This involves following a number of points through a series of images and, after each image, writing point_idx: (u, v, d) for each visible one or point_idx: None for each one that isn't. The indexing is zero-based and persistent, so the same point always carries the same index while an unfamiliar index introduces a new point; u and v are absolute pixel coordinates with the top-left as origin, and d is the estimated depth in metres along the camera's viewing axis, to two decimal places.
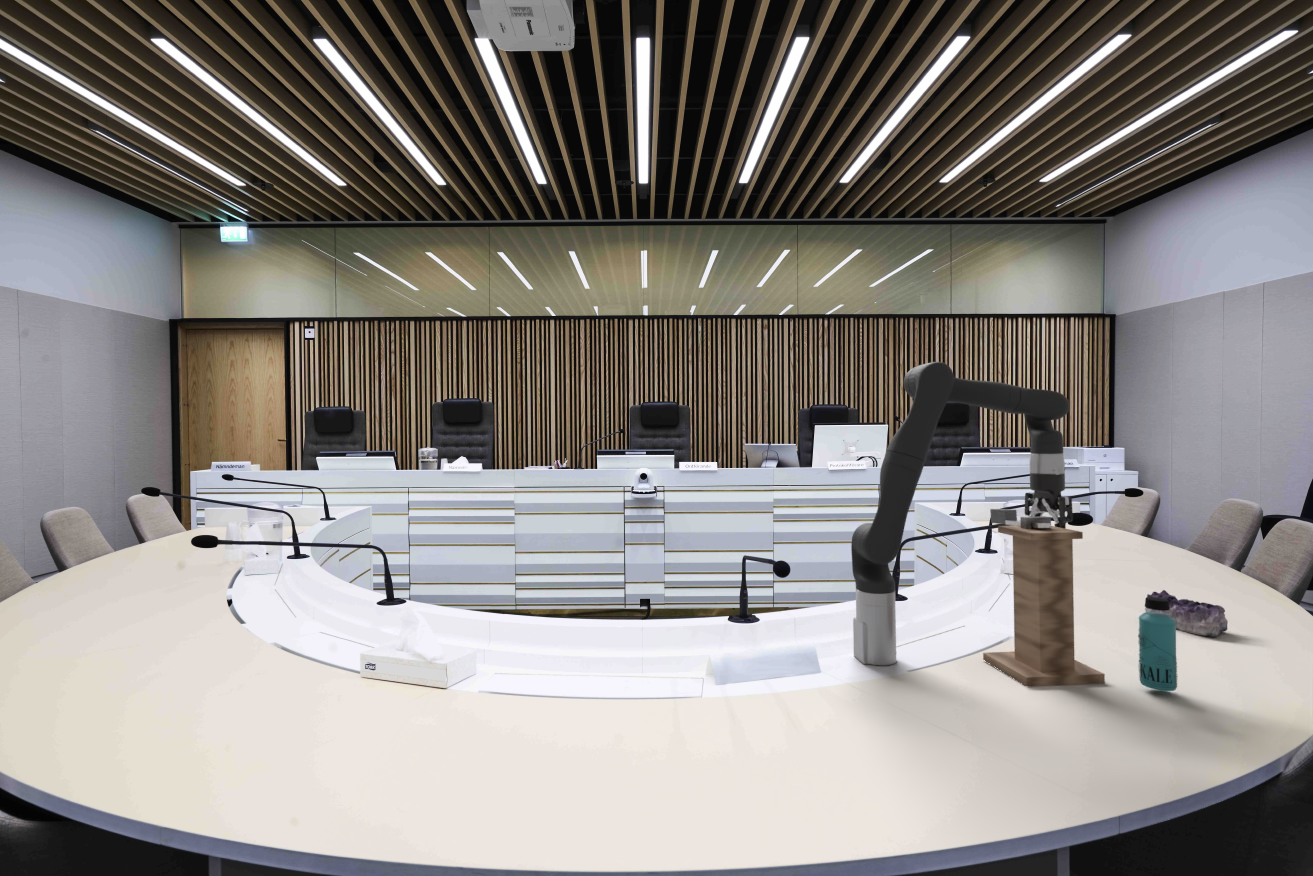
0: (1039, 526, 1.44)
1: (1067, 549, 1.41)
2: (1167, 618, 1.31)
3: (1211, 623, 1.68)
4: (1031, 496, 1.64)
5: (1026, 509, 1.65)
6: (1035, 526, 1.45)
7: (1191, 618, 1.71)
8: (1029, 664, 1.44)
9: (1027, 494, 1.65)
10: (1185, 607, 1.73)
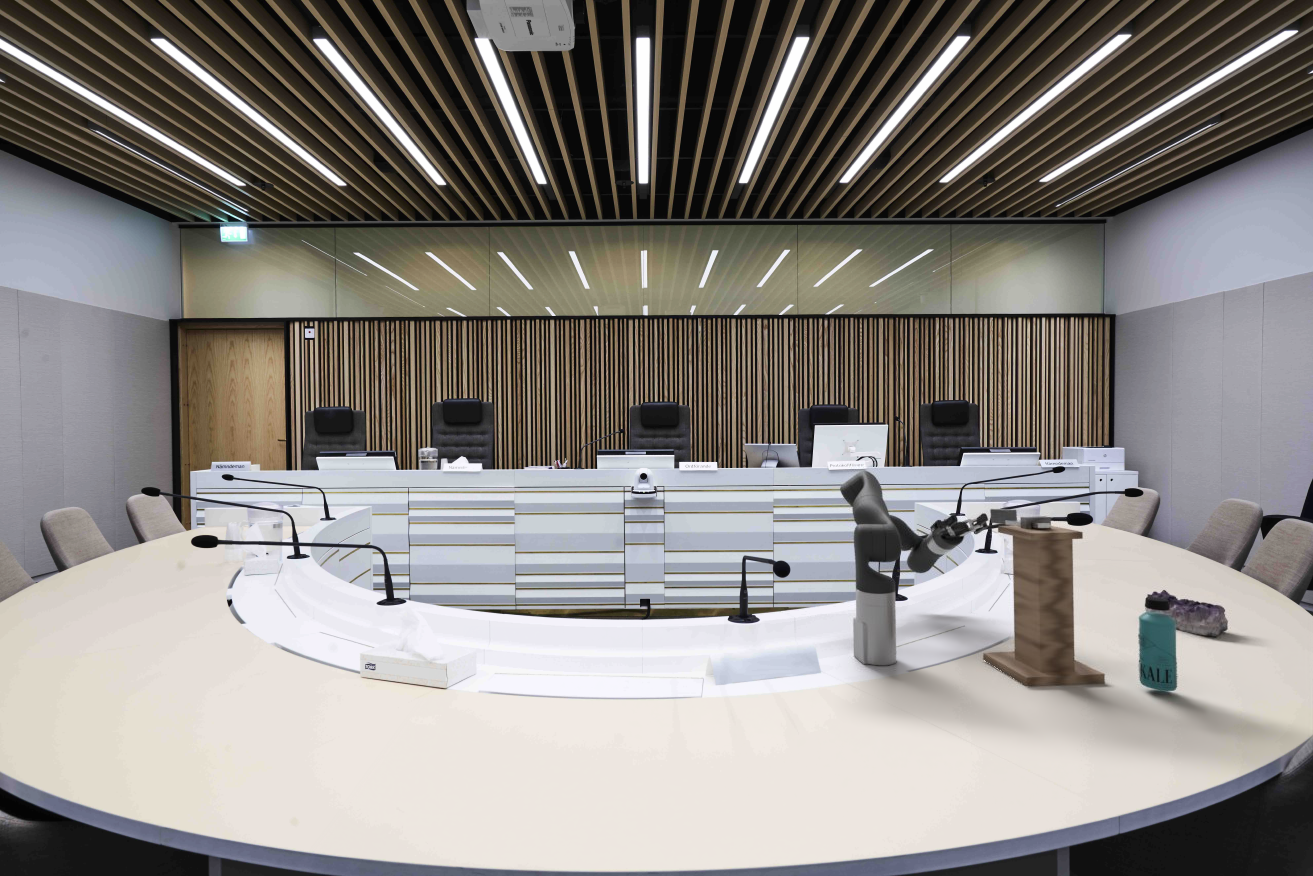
0: (1039, 526, 1.44)
1: (1067, 549, 1.41)
2: (1167, 618, 1.31)
3: (1211, 623, 1.68)
4: None
5: None
6: (1035, 526, 1.45)
7: (1191, 618, 1.71)
8: (1029, 664, 1.44)
9: None
10: (1185, 607, 1.73)
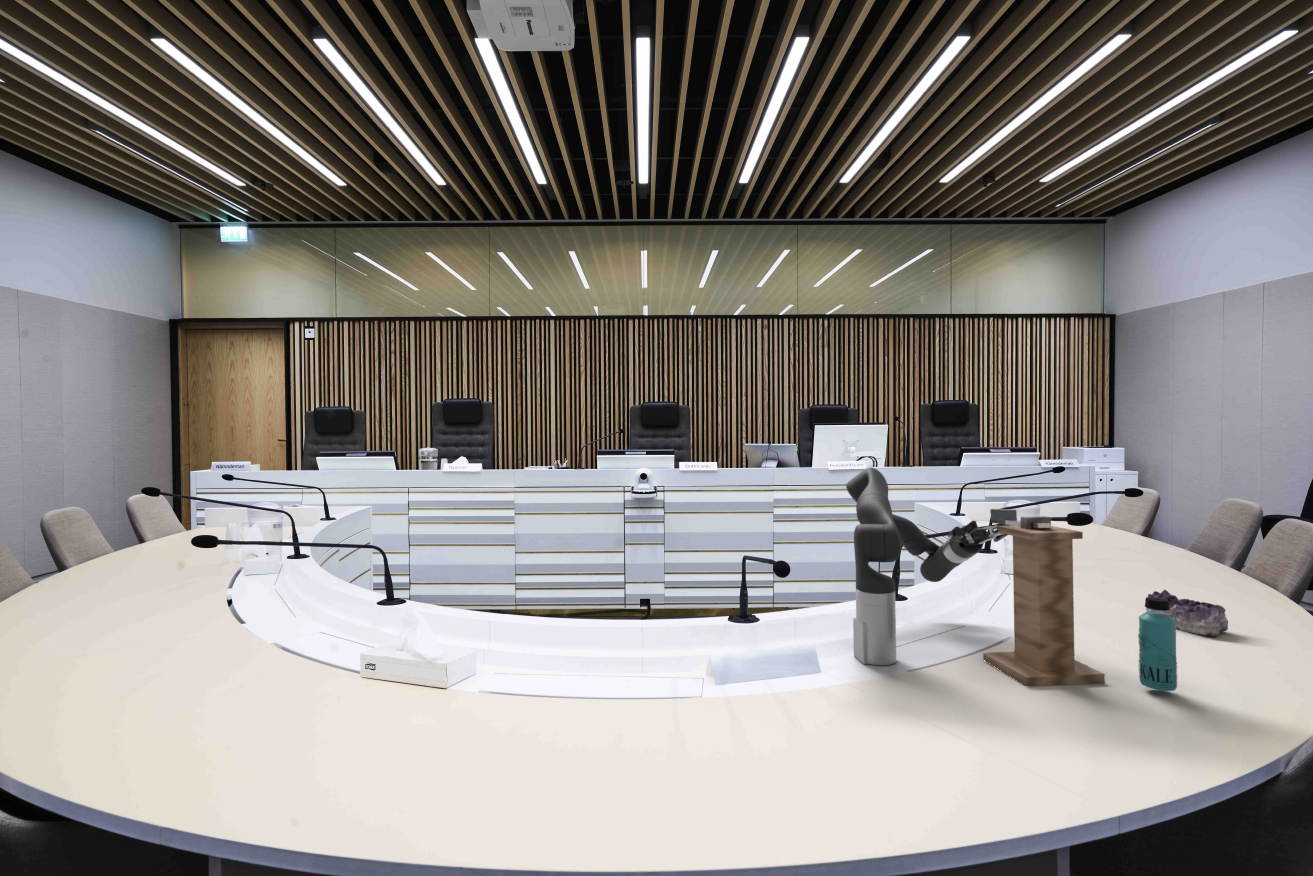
0: (1039, 526, 1.44)
1: (1067, 549, 1.41)
2: (1167, 618, 1.31)
3: (1211, 623, 1.68)
4: None
5: None
6: (1035, 526, 1.45)
7: (1190, 618, 1.71)
8: (1029, 664, 1.44)
9: None
10: (1185, 607, 1.74)
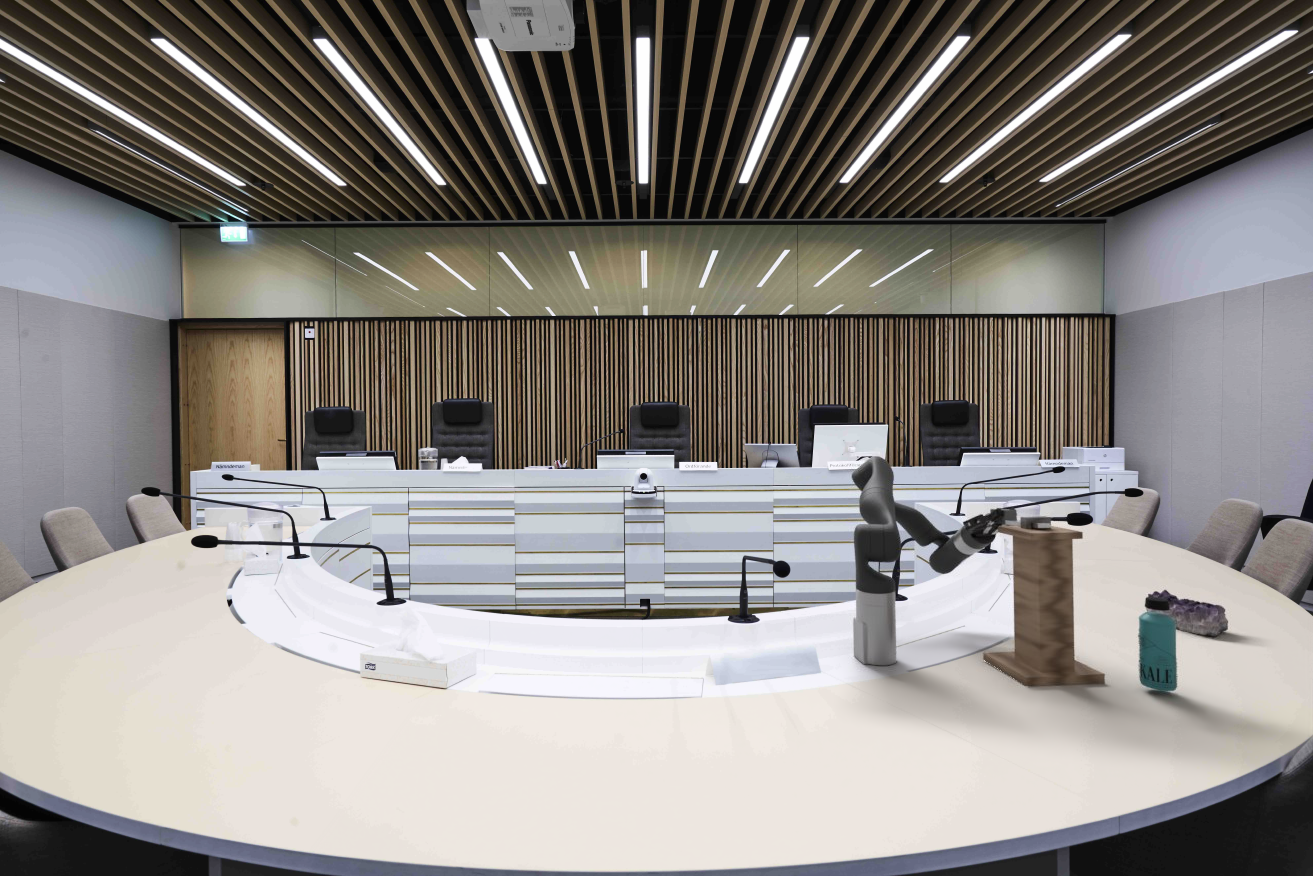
0: (1039, 526, 1.44)
1: (1067, 549, 1.41)
2: (1167, 618, 1.31)
3: (1210, 623, 1.68)
4: None
5: None
6: (1035, 526, 1.45)
7: (1190, 617, 1.72)
8: (1029, 664, 1.44)
9: None
10: (1185, 606, 1.74)
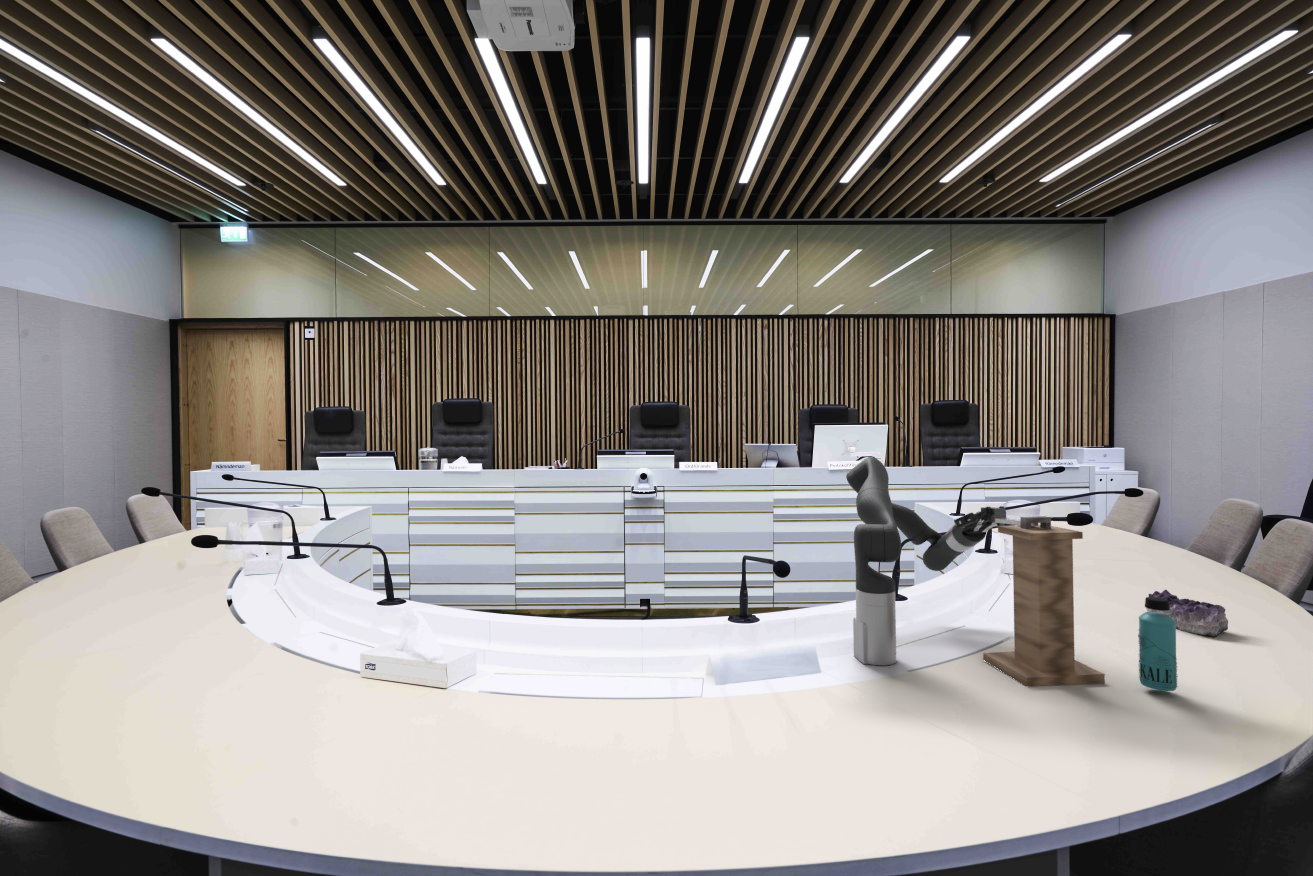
0: None
1: (1067, 549, 1.41)
2: (1167, 618, 1.31)
3: (1210, 623, 1.69)
4: None
5: None
6: None
7: (1190, 617, 1.72)
8: (1029, 664, 1.44)
9: None
10: (1185, 606, 1.74)
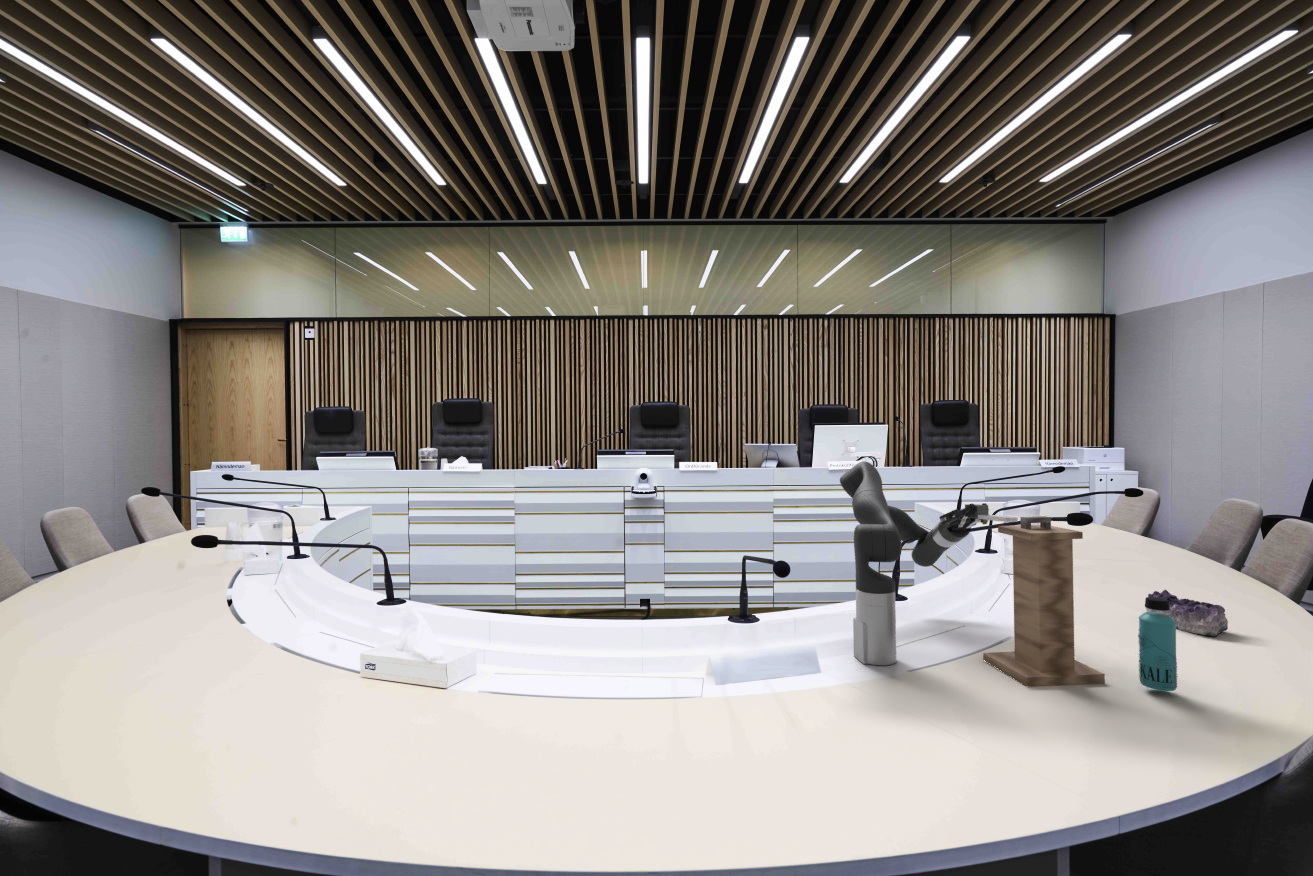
0: (1007, 520, 1.56)
1: (1067, 549, 1.41)
2: (1167, 618, 1.31)
3: (1210, 623, 1.69)
4: None
5: None
6: (1003, 520, 1.57)
7: (1190, 617, 1.72)
8: (1029, 664, 1.44)
9: None
10: (1185, 606, 1.74)
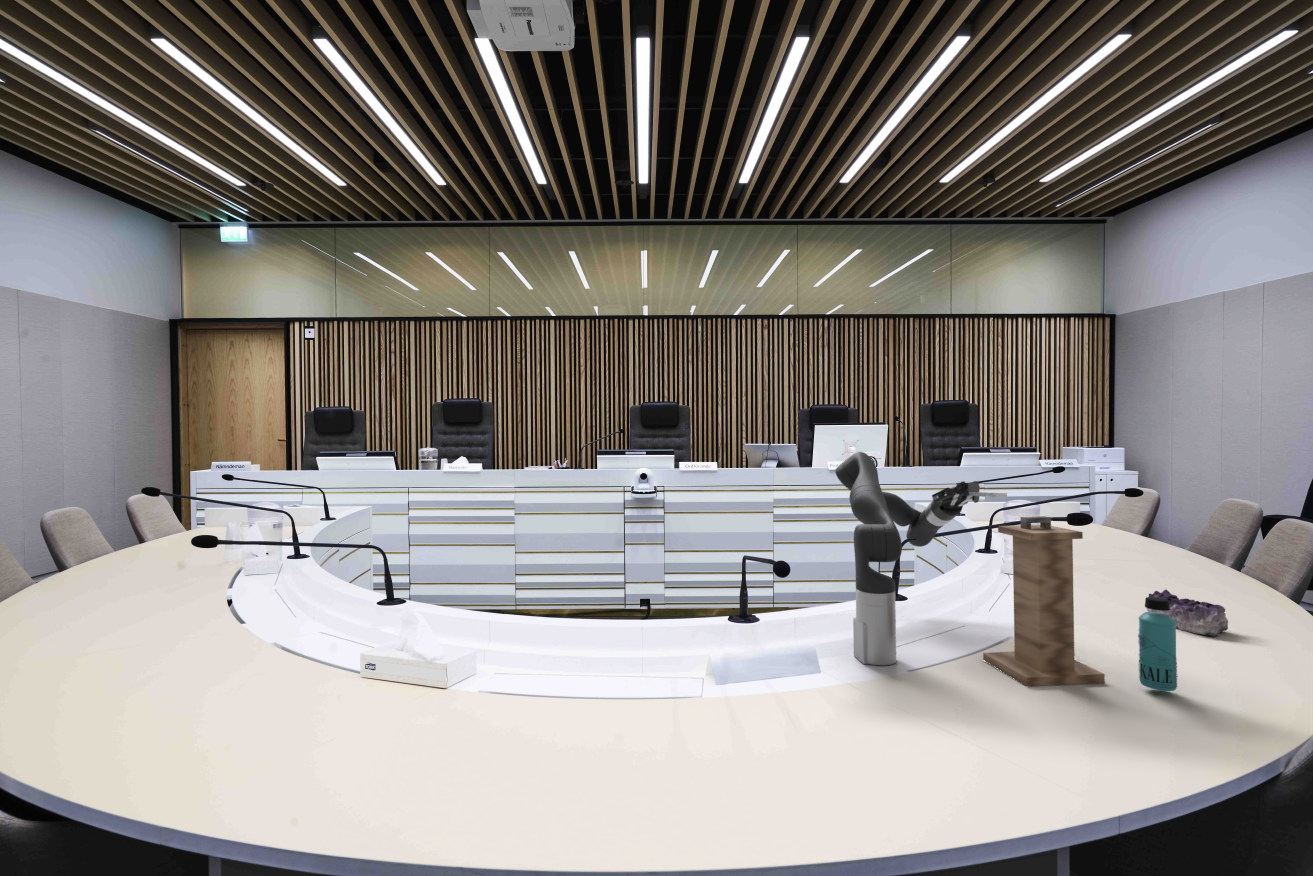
0: (996, 495, 1.60)
1: (1067, 549, 1.41)
2: (1167, 618, 1.31)
3: (1210, 623, 1.69)
4: None
5: None
6: (993, 495, 1.61)
7: (1190, 617, 1.72)
8: (1029, 664, 1.44)
9: None
10: (1184, 606, 1.74)
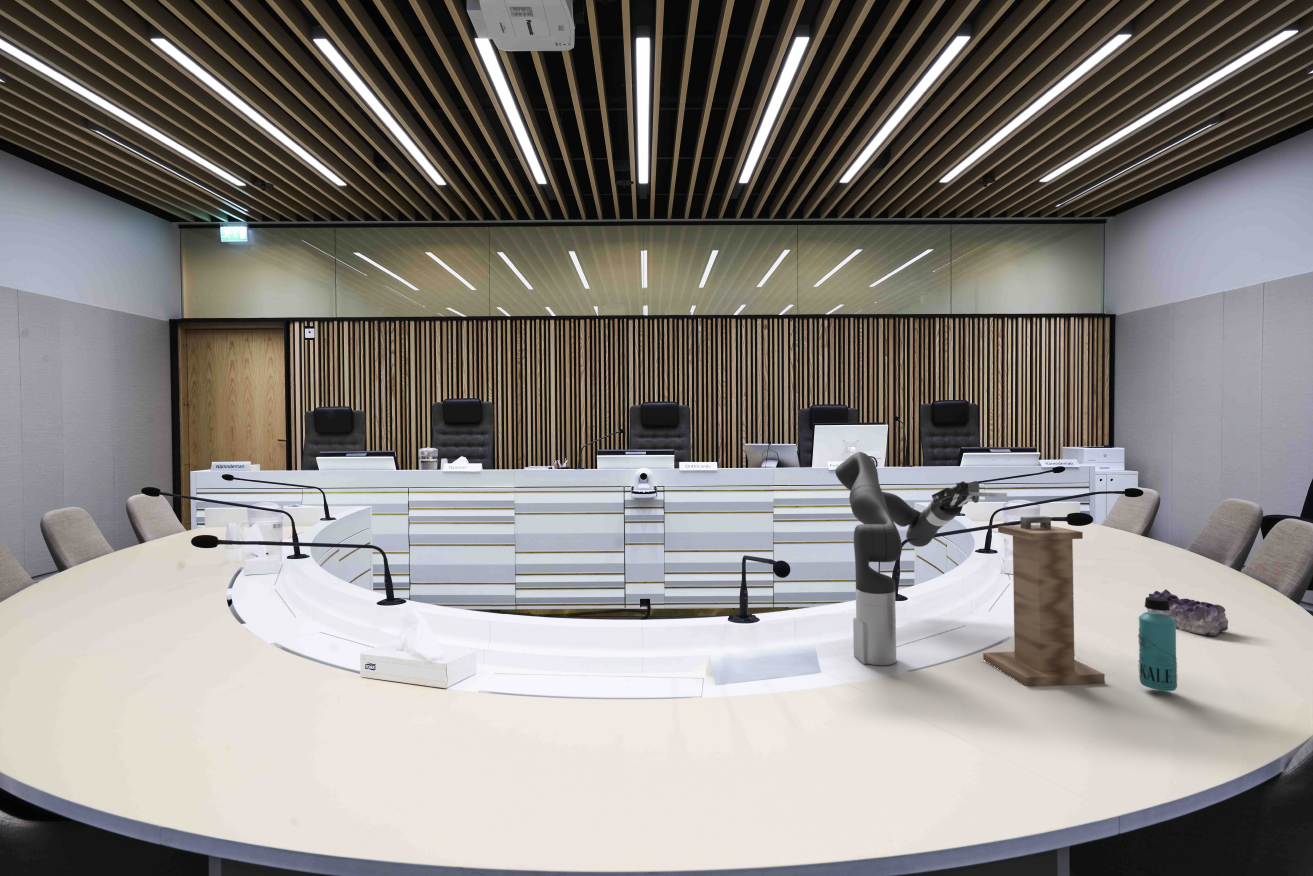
0: (996, 495, 1.60)
1: (1067, 549, 1.41)
2: (1167, 618, 1.31)
3: (1210, 623, 1.69)
4: None
5: None
6: (993, 496, 1.61)
7: (1189, 617, 1.72)
8: (1029, 664, 1.44)
9: None
10: (1184, 606, 1.74)
